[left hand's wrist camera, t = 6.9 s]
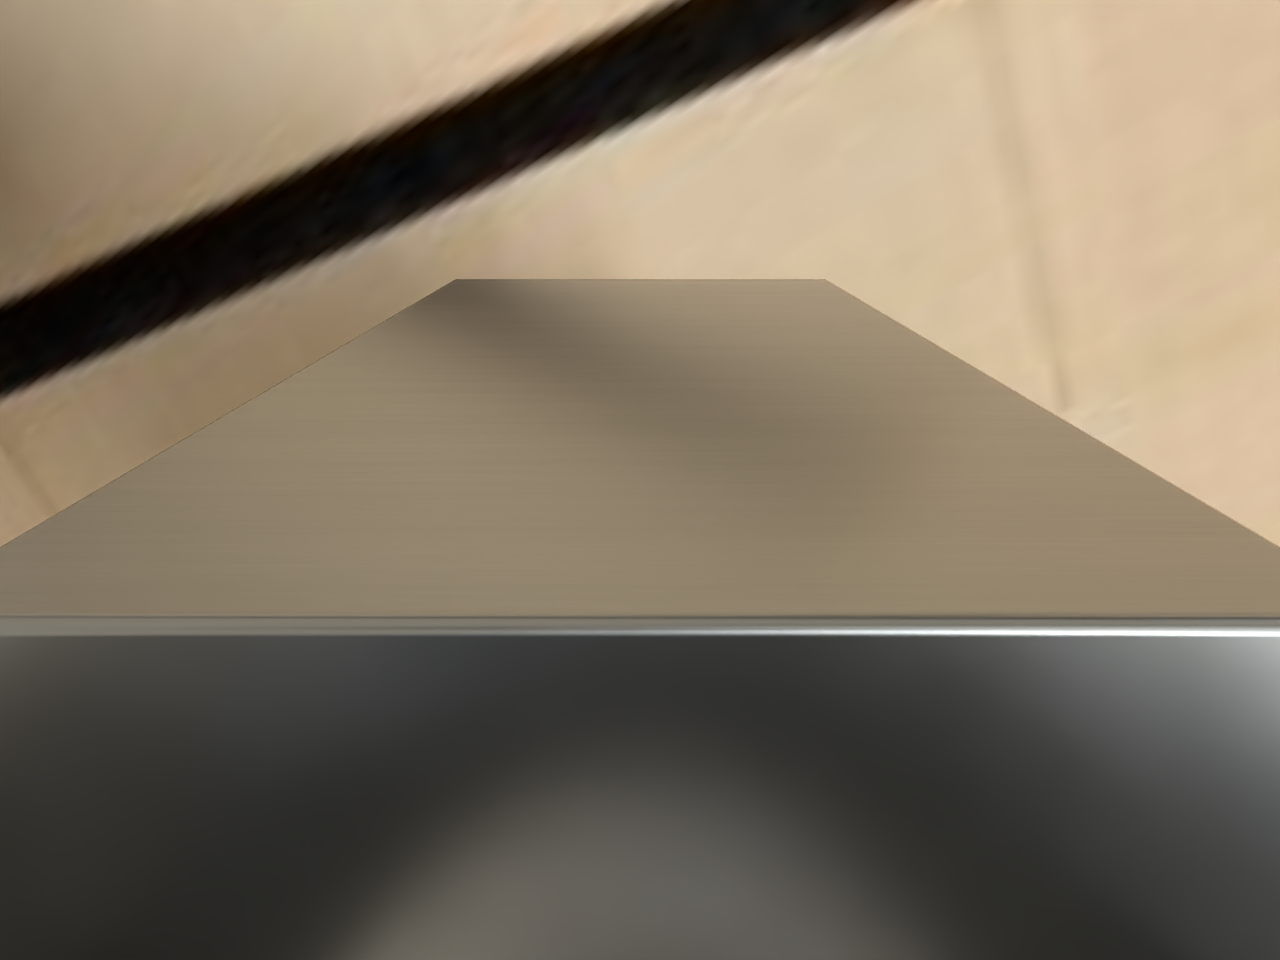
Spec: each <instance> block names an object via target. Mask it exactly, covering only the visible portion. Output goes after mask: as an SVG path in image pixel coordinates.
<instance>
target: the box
mask: <svg viewBox="0 0 1280 960" xmlns="http://www.w3.org/2000/svg"><path fill="white" fill-rule="evenodd" d="M0 960H1280V547H1279V546H1277V545H1275V544H1274V543H1272V542H1270V541H1269V540H1267V539H1265V538H1264V537H1262V536H1260V535H1258V534H1257V533H1255V532H1253V531H1252V530H1250V529H1248V528H1247V527H1245V526H1243V525H1241V524H1240V523H1238V522H1236V521H1235V520H1233V519H1231V518H1230V517H1228V516H1226V515H1225V514H1223V513H1221V512H1219V511H1218V510H1216V509H1214V508H1213V507H1211V506H1209V505H1208V504H1206V503H1204V502H1202V501H1201V500H1199V499H1197V498H1196V497H1194V496H1192V495H1191V494H1189V493H1187V492H1185V491H1184V490H1182V489H1180V488H1179V487H1177V486H1175V485H1174V484H1172V483H1170V482H1168V481H1167V480H1165V479H1163V478H1162V477H1160V476H1158V475H1157V474H1155V473H1153V472H1152V471H1150V470H1148V469H1146V468H1145V467H1143V466H1141V465H1140V464H1138V463H1136V462H1135V461H1133V460H1131V459H1129V458H1128V457H1126V456H1124V455H1123V454H1121V453H1119V452H1118V451H1116V450H1114V449H1112V448H1111V447H1109V446H1107V445H1106V444H1104V443H1102V442H1101V441H1099V440H1097V439H1095V438H1094V437H1092V436H1090V435H1089V434H1087V433H1085V432H1084V431H1082V430H1080V429H1079V428H1077V427H1075V426H1073V425H1072V424H1070V423H1068V422H1067V421H1065V420H1063V419H1062V418H1060V417H1058V416H1056V415H1055V414H1053V413H1051V412H1050V411H1048V410H1046V409H1045V408H1043V407H1041V406H1039V405H1038V404H1036V403H1034V402H1033V401H1031V400H1029V399H1028V398H1026V397H1024V396H1022V395H1021V394H1019V393H1017V392H1016V391H1014V390H1012V389H1011V388H1009V387H1007V386H1006V385H1004V384H1002V383H1000V382H999V381H997V380H995V379H994V378H992V377H990V376H989V375H987V374H985V373H983V372H982V371H980V370H978V369H977V368H975V367H973V366H972V365H970V364H968V363H966V362H965V361H963V360H961V359H960V358H958V357H956V356H955V355H953V354H951V353H949V352H948V351H946V350H944V349H943V348H941V347H939V346H938V345H936V344H934V343H933V342H931V341H929V340H927V339H926V338H924V337H922V336H921V335H919V334H917V333H916V332H914V331H912V330H910V329H909V328H907V327H905V326H904V325H902V324H900V323H899V322H897V321H895V320H893V319H892V318H890V317H888V316H887V315H885V314H883V313H882V312H880V311H878V310H876V309H875V308H873V307H871V306H870V305H868V304H866V303H865V302H863V301H861V300H860V299H858V298H856V297H854V296H853V295H851V294H849V293H848V292H846V291H844V290H843V289H841V288H839V287H837V286H836V285H834V284H832V283H831V282H829V281H827V280H825V279H456V280H454V281H452V282H450V283H448V284H447V285H445V286H443V287H442V288H440V289H438V290H437V291H435V292H433V293H431V294H430V295H428V296H426V297H425V298H423V299H421V300H420V301H418V302H416V303H415V304H413V305H411V306H409V307H408V308H406V309H404V310H403V311H401V312H399V313H398V314H396V315H394V316H392V317H391V318H389V319H387V320H386V321H384V322H382V323H381V324H379V325H377V326H375V327H374V328H372V329H370V330H369V331H367V332H365V333H364V334H362V335H360V336H358V337H357V338H355V339H353V340H352V341H350V342H348V343H347V344H345V345H343V346H341V347H340V348H338V349H336V350H335V351H333V352H331V353H330V354H328V355H326V356H324V357H323V358H321V359H319V360H318V361H316V362H314V363H313V364H311V365H309V366H307V367H306V368H304V369H302V370H301V371H299V372H297V373H296V374H294V375H292V376H290V377H289V378H287V379H285V380H284V381H282V382H280V383H279V384H277V385H275V386H273V387H272V388H270V389H268V390H267V391H265V392H263V393H262V394H260V395H258V396H256V397H255V398H253V399H251V400H250V401H248V402H246V403H245V404H243V405H241V406H239V407H238V408H236V409H234V410H233V411H231V412H229V413H228V414H226V415H224V416H222V417H221V418H219V419H217V420H216V421H214V422H212V423H211V424H209V425H207V426H205V427H204V428H202V429H200V430H199V431H197V432H195V433H194V434H192V435H190V436H188V437H187V438H185V439H183V440H182V441H180V442H178V443H177V444H175V445H173V446H171V447H170V448H168V449H166V450H165V451H163V452H161V453H160V454H158V455H156V456H154V457H153V458H151V459H149V460H148V461H146V462H144V463H143V464H141V465H139V466H137V467H136V468H134V469H132V470H131V471H129V472H127V473H126V474H124V475H122V476H120V477H119V478H117V479H115V480H114V481H112V482H110V483H109V484H107V485H105V486H103V487H102V488H100V489H98V490H97V491H95V492H93V493H92V494H90V495H88V496H86V497H85V498H83V499H81V500H80V501H78V502H76V503H75V504H73V505H71V506H69V507H68V508H66V509H64V510H63V511H61V512H59V513H58V514H56V515H54V516H52V517H51V518H49V519H47V520H46V521H44V522H42V523H41V524H39V525H37V526H35V527H34V528H32V529H30V530H29V531H27V532H25V533H24V534H22V535H20V536H18V537H17V538H15V539H13V540H12V541H10V542H8V543H7V544H5V545H3V546H2V547H0Z"/></svg>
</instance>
